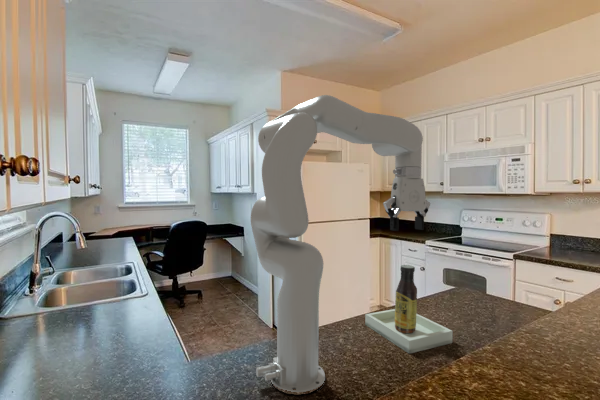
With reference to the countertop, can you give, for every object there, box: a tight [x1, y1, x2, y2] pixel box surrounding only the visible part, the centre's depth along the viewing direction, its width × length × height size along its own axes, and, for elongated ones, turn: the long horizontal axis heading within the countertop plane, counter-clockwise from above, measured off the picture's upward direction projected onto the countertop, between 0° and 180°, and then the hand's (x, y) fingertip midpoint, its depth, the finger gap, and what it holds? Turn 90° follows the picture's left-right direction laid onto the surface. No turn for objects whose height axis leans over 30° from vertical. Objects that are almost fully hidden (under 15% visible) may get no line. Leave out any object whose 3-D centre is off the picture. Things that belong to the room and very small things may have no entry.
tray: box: [364, 308, 454, 355], centre depth 95 cm, size 16×20×4 cm
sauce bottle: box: [394, 264, 418, 333], centre depth 95 cm, size 7×6×20 cm
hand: (407, 230), depth 95 cm, fingers open, 9 cm apart
